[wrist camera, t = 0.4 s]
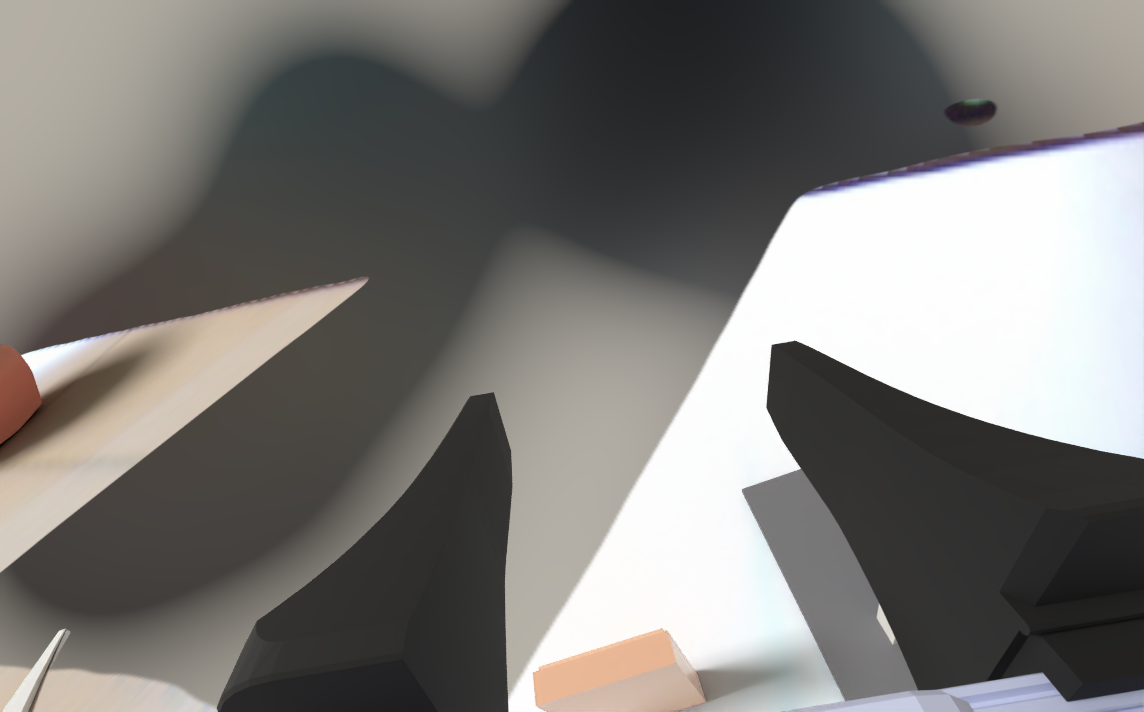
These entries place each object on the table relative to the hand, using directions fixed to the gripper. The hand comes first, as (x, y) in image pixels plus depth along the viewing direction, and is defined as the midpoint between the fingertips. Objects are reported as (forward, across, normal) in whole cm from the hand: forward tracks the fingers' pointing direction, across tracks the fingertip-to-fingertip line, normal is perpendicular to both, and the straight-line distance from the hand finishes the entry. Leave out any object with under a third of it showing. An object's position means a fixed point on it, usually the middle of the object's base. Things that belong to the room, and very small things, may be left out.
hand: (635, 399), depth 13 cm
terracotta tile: (+1, +1, +20) cm, 20 cm away
